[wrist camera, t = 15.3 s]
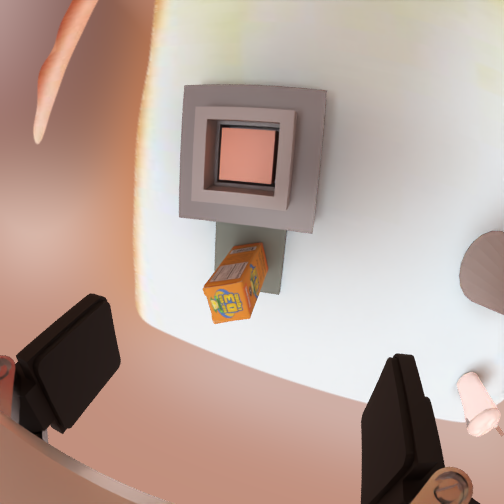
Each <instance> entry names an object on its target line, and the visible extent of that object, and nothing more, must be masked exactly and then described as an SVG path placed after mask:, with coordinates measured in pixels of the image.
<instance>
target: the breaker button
mask: <svg viewBox="0 0 504 504" xmlns="http://www.w3.org/2000/svg"><path fill="white" fill-rule="evenodd" d="M278 144H279V132H278V131H271V130H257V129H240V128H222V137H221V153H220V172H219V179H220V180H232V181H243V182H253V183H263V184H272V183H273V182H274V181H275V180H276V168H277V156H278Z"/></svg>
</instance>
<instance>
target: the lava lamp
mask: <svg viewBox="0 0 504 504" xmlns="http://www.w3.org/2000/svg"><path fill="white" fill-rule="evenodd" d="M459 277H460V285H461V288H462V290H463V292H464V295H465V296H466V297H467V298H468V299H470V300H471V301H472V302H475V303H477V304H479V305H482V306H484V307H486V308H489V309H491V310H493V311H496V312H498V313H500V314H503V315H504V232H502V231H491V232H488V233H486V234H483V235H481V236H480V237H479V238H478V239H476V240H475V241H474V242H473V243H472V244H471V246H470V247H469V249H468V250H467V251H466V253H465V256H464V258H463V260H462V263H461V268H460V274H459Z"/></svg>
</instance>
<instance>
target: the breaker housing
mask: <svg viewBox="0 0 504 504" xmlns="http://www.w3.org/2000/svg"><path fill="white" fill-rule="evenodd" d="M326 92H327V91H325V90H317V89H307V88H295V87H282V86H264V85H186V86H184V99H183V114H182V132H181V153H180V185H179V217H181V218H190V219H199V220H208V221H216V222H225V223H233V224H241V225H249V226H258V227H265V228H273V229H281V230H289V231H296V232H304V233H311V234H312V232H313V225H314V217H315V209H316V200H317V191H318V182H319V173H320V163H321V153H322V143H323V131H324V119H325V106H326ZM222 128H240V129H257V130H271V131H278V132H279V144H278V156H277V168H276V180H275V181H274V182H273V183H272V184H263V183H253V182H243V181H232V180H220V179H219V172H220V153H221V137H222Z"/></svg>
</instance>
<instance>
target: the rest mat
mask: <svg viewBox="0 0 504 504" xmlns="http://www.w3.org/2000/svg"><path fill="white" fill-rule="evenodd" d="M286 231H287V230H281V229H273V228H265V227H258V226H249V225H241V224H233V223H225V222H216V242H215V271H216V269H217V268H218V267H219V265H220V264H221V263H222V261H223V260H224V259H225V257H226V256H227V254H228V253H229V252H230V250H231V249H232V247H234V246H240V245H246V244H253V243H259V242H262V243H263V248H264V252H265V256H266V260H267V265H268V271H267V274H266V276H265V279H264V282H263V285H262V287H261V290H260V292H265V293H271V294H278V295H279V292H280V284H281V275H282V267H283V258H284V249H285V240H286Z"/></svg>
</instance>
